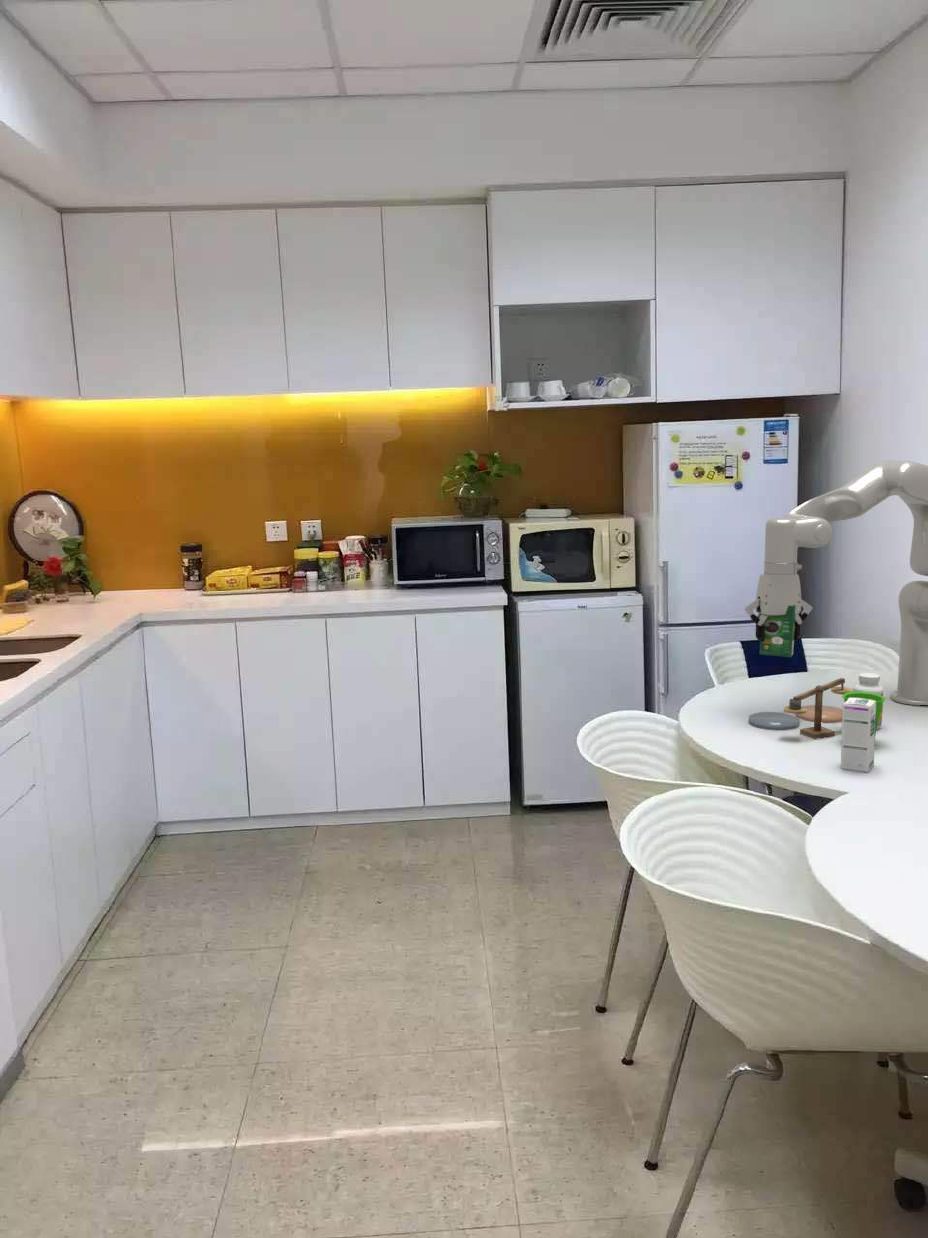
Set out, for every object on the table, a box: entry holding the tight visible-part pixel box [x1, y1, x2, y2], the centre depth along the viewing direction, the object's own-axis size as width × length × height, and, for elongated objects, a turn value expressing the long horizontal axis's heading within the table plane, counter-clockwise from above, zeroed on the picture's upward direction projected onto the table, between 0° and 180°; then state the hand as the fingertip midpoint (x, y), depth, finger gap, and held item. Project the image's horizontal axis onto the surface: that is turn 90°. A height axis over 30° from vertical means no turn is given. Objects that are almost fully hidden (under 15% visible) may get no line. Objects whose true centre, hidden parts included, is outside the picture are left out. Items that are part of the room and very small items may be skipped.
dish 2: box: [795, 704, 843, 724], centre depth 252 cm, size 12×12×1 cm
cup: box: [841, 692, 886, 736], centre depth 229 cm, size 9×9×11 cm
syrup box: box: [840, 697, 876, 773], centre depth 213 cm, size 6×6×14 cm
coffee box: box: [758, 605, 796, 658], centre depth 246 cm, size 8×3×13 cm, turn 61°
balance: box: [783, 677, 854, 740], centre depth 236 cm, size 19×5×13 cm, turn 112°
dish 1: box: [748, 711, 801, 731], centre depth 247 cm, size 12×12×1 cm
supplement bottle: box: [853, 672, 884, 730], centre depth 241 cm, size 7×7×13 cm
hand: (777, 639), depth 247 cm, fingers closed on coffee box, 7 cm apart
